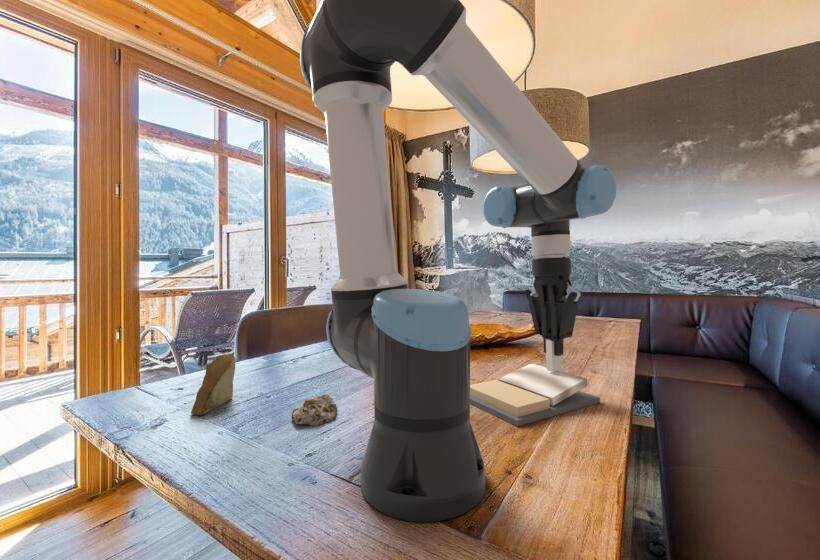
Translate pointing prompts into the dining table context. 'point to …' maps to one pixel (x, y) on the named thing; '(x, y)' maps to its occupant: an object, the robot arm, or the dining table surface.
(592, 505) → the dining table surface
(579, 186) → the robot arm
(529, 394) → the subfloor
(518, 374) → the book
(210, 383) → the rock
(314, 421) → the mineral rock
